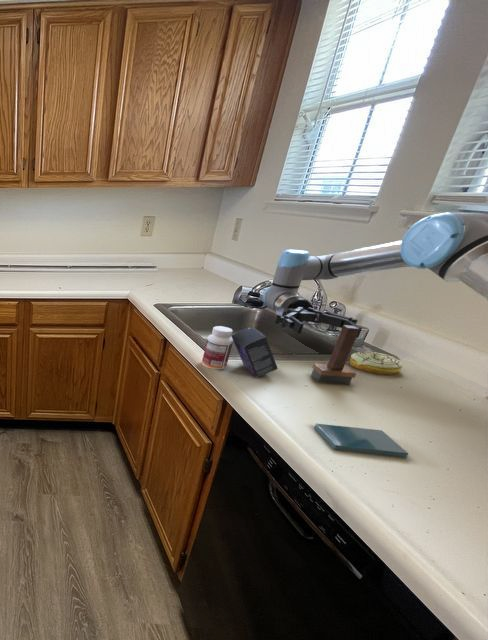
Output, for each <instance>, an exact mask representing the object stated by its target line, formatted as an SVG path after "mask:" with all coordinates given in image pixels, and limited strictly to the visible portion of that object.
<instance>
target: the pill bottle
mask: <svg viewBox="0 0 488 640" xmlns="http://www.w3.org/2000/svg"><path fill="white" fill-rule="evenodd" d="M233 331H234V330H233V329H232V328H230V327H227V326H222V325H216V326H213V327H212V333H211V334H209V335H208V336H207V339H206V343H205V347H204V352H203V355H202V360H201V365H202V366H204V367H206V368H209V369H212V370H225V369H226V368H227V366H228V363H229V358H230V355H231V352H232V351H231V350H232V347H233V344H234V341H233V338H232V335H233Z"/></svg>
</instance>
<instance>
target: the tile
mask: <svg viewBox="0 0 488 640" xmlns="http://www.w3.org/2000/svg"><path fill="white" fill-rule="evenodd" d="M313 427H314V429H315V431H316V432H317V433H318V434H319V435H320V437H322V438H323V439H324V441H325V442H326V443H327V444H328V445H329V446H330V447H331V448H332V450H333V451H339V452H340V451H341V452H348V453H349V452H350V453H357V454H366V455H375V456H383V457H393V458H399V459H400V458H401V459H406V458H407V457H408V455H409V452H408V451H407V450H405V449H404V448H403V447H402V446H401V445H399V444H398V443H397V441H395V440H394V439H393V438H392V437H390V436H389V435H388V434H387V433H386V432H384V431H383V429H374V428H373V429H372V428H362V427H356V426H355V427H353V426H346V425H345V426H344V425H334V424H326V423H325V424H324V423H315V425H314V426H313Z"/></svg>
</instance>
